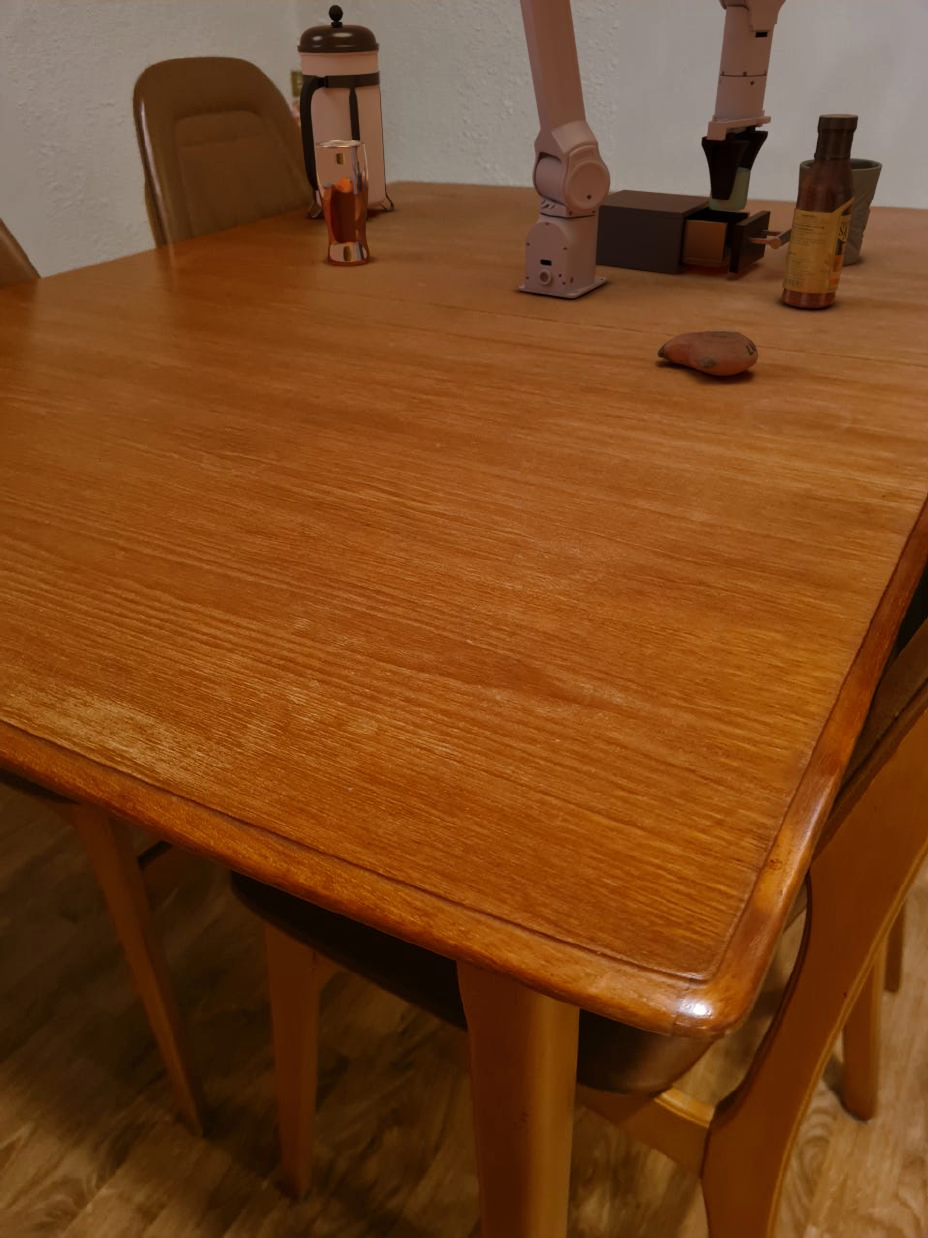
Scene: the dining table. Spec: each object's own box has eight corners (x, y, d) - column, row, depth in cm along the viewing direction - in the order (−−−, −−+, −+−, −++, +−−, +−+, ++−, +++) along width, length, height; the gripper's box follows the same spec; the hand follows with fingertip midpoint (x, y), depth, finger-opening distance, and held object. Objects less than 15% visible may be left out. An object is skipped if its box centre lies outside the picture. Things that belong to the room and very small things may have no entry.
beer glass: (377, 254, 137) (370, 139, 129) (368, 266, 132) (360, 146, 123) (330, 254, 138) (320, 139, 130) (319, 266, 132) (308, 146, 124)
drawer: (795, 260, 127) (803, 213, 124) (770, 277, 120) (778, 229, 117) (677, 246, 135) (681, 202, 132) (646, 262, 128) (650, 215, 124)
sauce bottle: (837, 311, 110) (875, 118, 99) (781, 309, 111) (813, 118, 100) (831, 296, 116) (866, 111, 105) (777, 294, 117) (807, 111, 106)
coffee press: (294, 209, 166) (272, 5, 150) (383, 202, 170) (371, 2, 154) (311, 229, 153) (289, 6, 136) (408, 221, 156) (398, 3, 140)
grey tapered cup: (878, 262, 129) (899, 165, 122) (817, 270, 126) (835, 171, 119) (828, 247, 137) (845, 154, 130) (769, 254, 134) (784, 160, 127)
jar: (738, 212, 121) (743, 173, 118) (703, 208, 123) (707, 170, 121) (750, 206, 124) (755, 168, 122) (716, 202, 126) (720, 165, 124)
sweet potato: (717, 359, 100) (649, 370, 97) (719, 319, 98) (650, 329, 95) (770, 375, 92) (698, 387, 90) (773, 332, 90) (700, 343, 88)
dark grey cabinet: (708, 255, 134) (715, 197, 129) (675, 274, 126) (682, 212, 121) (619, 245, 140) (623, 189, 136) (583, 262, 132) (586, 202, 128)
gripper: (755, 80, 108) (738, 208, 116) (794, 70, 118) (776, 189, 126) (696, 78, 112) (683, 203, 119) (739, 69, 122) (725, 184, 129)
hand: (727, 195), depth 123 cm, fingers closed on jar, 4 cm apart
